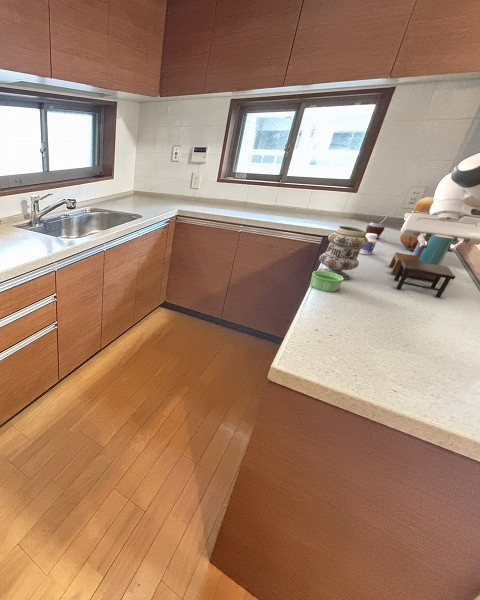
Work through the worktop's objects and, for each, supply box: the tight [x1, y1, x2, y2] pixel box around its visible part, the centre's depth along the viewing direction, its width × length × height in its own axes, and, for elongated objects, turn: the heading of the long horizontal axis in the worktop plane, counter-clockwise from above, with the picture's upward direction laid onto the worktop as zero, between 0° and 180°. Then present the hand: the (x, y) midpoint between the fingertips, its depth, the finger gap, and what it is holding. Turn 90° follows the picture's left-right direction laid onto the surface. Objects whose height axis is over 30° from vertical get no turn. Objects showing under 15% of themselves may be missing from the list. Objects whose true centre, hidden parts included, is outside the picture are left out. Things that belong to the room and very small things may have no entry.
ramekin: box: [310, 270, 345, 292], centre depth 113 cm, size 9×9×4 cm
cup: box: [419, 234, 455, 265], centre depth 108 cm, size 5×5×9 cm
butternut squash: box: [399, 196, 434, 252], centre depth 150 cm, size 14×13×25 cm
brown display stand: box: [388, 252, 441, 283], centre depth 126 cm, size 12×12×6 cm
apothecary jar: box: [317, 225, 368, 280], centre depth 121 cm, size 12×12×18 cm
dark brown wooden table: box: [393, 259, 456, 299], centre depth 113 cm, size 12×12×8 cm
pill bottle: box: [359, 233, 378, 255], centre depth 149 cm, size 5×5×9 cm
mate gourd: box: [365, 211, 397, 240], centre depth 171 cm, size 8×8×15 cm
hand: (437, 248), depth 108 cm, fingers closed on cup, 5 cm apart
